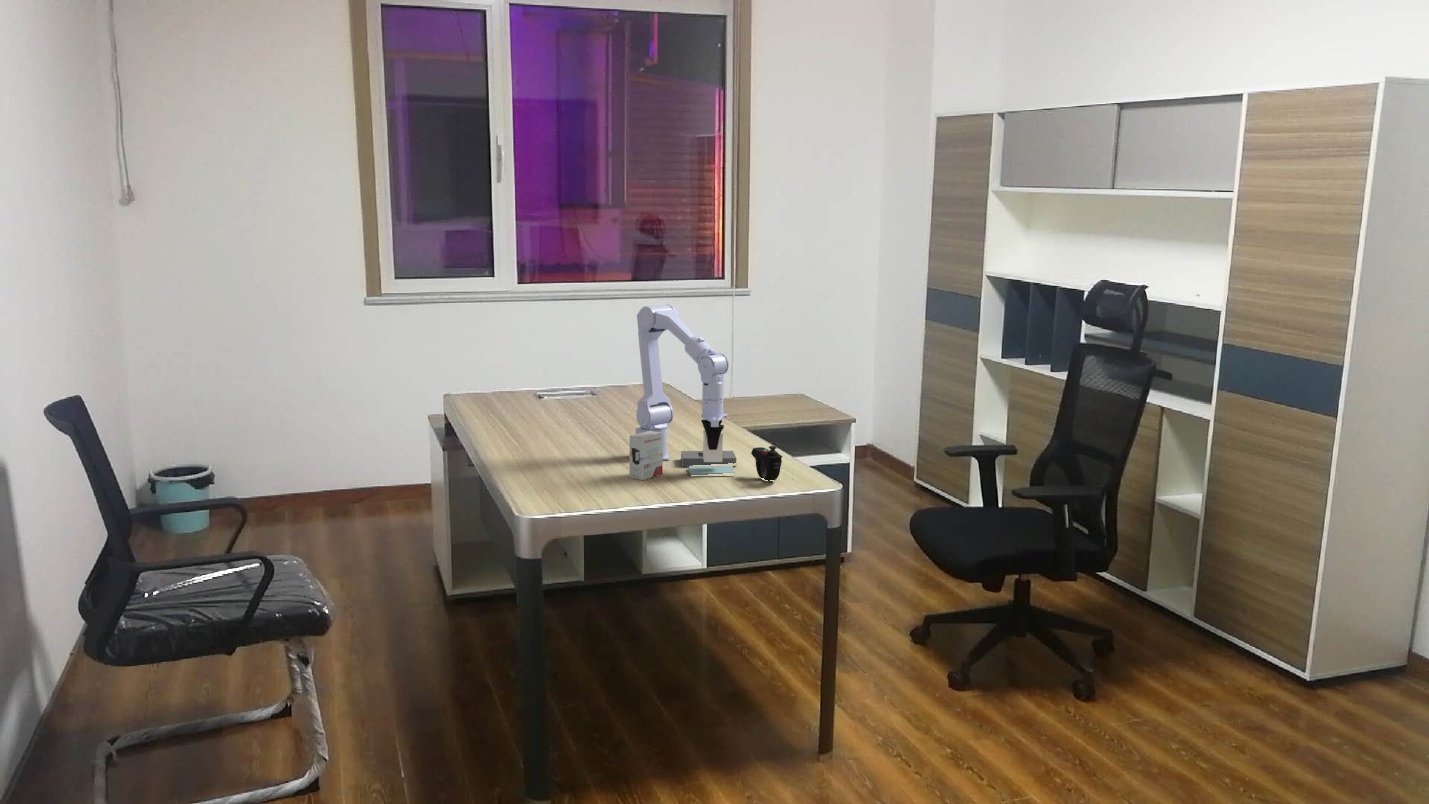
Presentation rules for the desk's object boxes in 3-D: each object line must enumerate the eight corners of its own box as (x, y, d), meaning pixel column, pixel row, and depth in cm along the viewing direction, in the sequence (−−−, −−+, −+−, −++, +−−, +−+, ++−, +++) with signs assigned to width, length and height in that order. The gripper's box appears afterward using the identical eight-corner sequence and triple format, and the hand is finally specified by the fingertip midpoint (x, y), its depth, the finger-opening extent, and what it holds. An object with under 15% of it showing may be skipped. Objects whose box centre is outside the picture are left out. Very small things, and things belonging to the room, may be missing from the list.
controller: (769, 486, 288) (770, 449, 286) (748, 475, 299) (749, 439, 297) (783, 485, 289) (784, 448, 287) (762, 474, 300) (763, 438, 299)
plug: (704, 462, 298) (704, 433, 296) (702, 458, 302) (703, 430, 300) (722, 462, 298) (722, 433, 297) (720, 458, 302) (721, 430, 301)
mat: (690, 476, 296) (690, 473, 296) (688, 469, 304) (688, 465, 304) (734, 476, 297) (734, 472, 297) (731, 469, 305) (731, 465, 305)
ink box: (650, 471, 301) (650, 429, 299) (663, 474, 298) (663, 432, 296) (628, 477, 294) (628, 434, 292) (641, 480, 291) (642, 437, 289)
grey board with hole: (682, 467, 306) (682, 458, 306) (681, 459, 315) (681, 450, 315) (736, 466, 308) (736, 458, 307) (732, 459, 316) (733, 450, 316)
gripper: (730, 403, 290) (729, 453, 292) (724, 393, 304) (724, 441, 307) (703, 403, 289) (702, 453, 292) (699, 393, 303) (698, 441, 306)
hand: (712, 447), depth 299 cm, fingers closed on plug, 4 cm apart
